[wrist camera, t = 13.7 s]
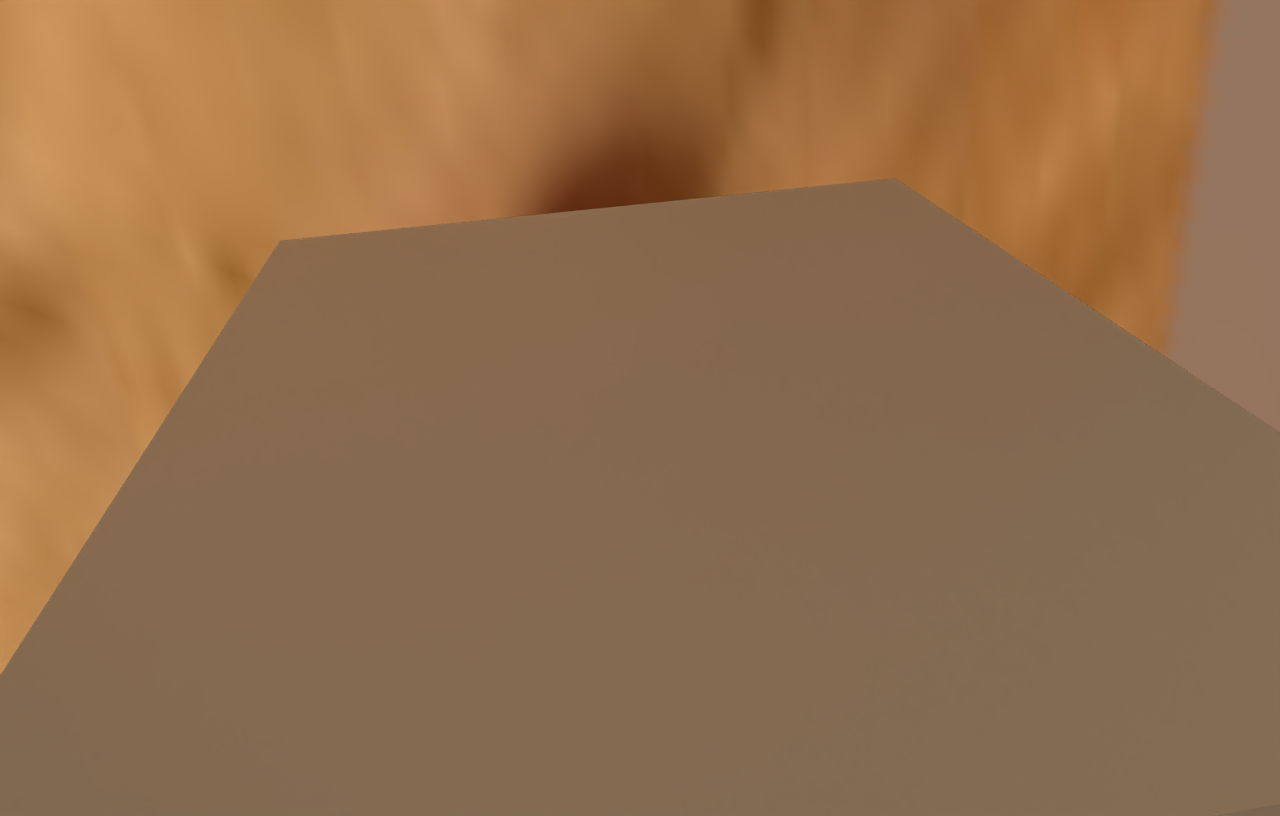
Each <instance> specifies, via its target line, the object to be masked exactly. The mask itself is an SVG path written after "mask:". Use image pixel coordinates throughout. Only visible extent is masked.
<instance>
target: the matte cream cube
mask: <svg viewBox="0 0 1280 816" xmlns="http://www.w3.org/2000/svg"><path fill="white" fill-rule="evenodd" d="M0 816H1280V432H1279V431H1277V430H1275V429H1274V428H1272V427H1271V426H1269V425H1268V424H1266V423H1265V422H1263V421H1262V420H1260V419H1259V418H1257V417H1256V416H1254V415H1253V414H1251V413H1250V412H1248V411H1247V410H1245V409H1244V408H1242V407H1241V406H1239V405H1238V404H1236V403H1235V402H1233V401H1232V400H1230V399H1228V398H1227V397H1226V396H1224V395H1223V394H1221V393H1219V392H1218V391H1216V390H1215V389H1213V388H1212V387H1210V386H1209V385H1207V384H1206V383H1204V382H1203V381H1201V380H1200V379H1198V378H1197V377H1195V376H1194V375H1192V374H1191V373H1189V372H1188V371H1186V370H1184V369H1183V368H1182V367H1180V366H1179V365H1177V364H1176V363H1174V362H1173V361H1171V360H1170V359H1168V358H1167V357H1165V356H1164V355H1162V354H1160V353H1159V352H1157V351H1156V350H1154V349H1153V348H1151V347H1150V346H1148V345H1147V344H1145V343H1144V342H1142V341H1141V340H1139V339H1138V338H1136V337H1135V336H1133V335H1132V334H1130V333H1129V332H1127V331H1126V330H1124V329H1123V328H1121V327H1120V326H1118V325H1117V324H1115V323H1114V322H1112V321H1111V320H1109V319H1108V318H1106V317H1104V316H1103V315H1101V314H1100V313H1098V312H1097V311H1095V310H1094V309H1092V308H1091V307H1089V306H1088V305H1086V304H1085V303H1083V302H1082V301H1080V300H1079V299H1077V298H1076V297H1074V296H1073V295H1071V294H1070V293H1068V292H1067V291H1065V290H1064V289H1062V288H1061V287H1059V286H1058V285H1056V284H1055V283H1053V282H1052V281H1050V280H1048V279H1047V278H1045V277H1044V276H1042V275H1041V274H1039V273H1038V272H1036V271H1035V270H1033V269H1032V268H1030V267H1029V266H1027V265H1026V264H1024V263H1023V262H1021V261H1020V260H1018V259H1017V258H1015V257H1014V256H1012V255H1011V254H1009V253H1008V252H1006V251H1005V250H1003V249H1002V248H1000V247H999V246H997V245H996V244H994V243H992V242H991V241H989V240H988V239H986V238H985V237H983V236H982V235H980V234H979V233H977V232H976V231H974V230H973V229H971V228H970V227H968V226H967V225H965V224H964V223H962V222H961V221H959V220H958V219H956V218H955V217H953V216H952V215H950V214H949V213H947V212H946V211H944V210H943V209H941V208H940V207H938V206H936V205H935V204H933V203H932V202H930V201H929V200H927V199H926V198H924V197H923V196H921V195H920V194H918V193H917V192H915V191H914V190H912V189H911V188H909V187H908V186H906V185H905V184H903V183H902V182H900V181H899V180H897V179H896V178H894V179H884V180H874V181H865V182H855V183H845V184H835V185H825V186H815V187H805V188H795V189H786V190H776V191H766V192H756V193H746V194H736V195H726V196H716V197H707V198H697V199H687V200H677V201H667V202H657V203H647V204H637V205H628V206H618V207H608V208H598V209H588V210H578V211H568V212H558V213H548V214H539V215H529V216H519V217H509V218H499V219H489V220H479V221H469V222H460V223H450V224H440V225H430V226H420V227H410V228H400V229H390V230H381V231H371V232H361V233H351V234H341V235H331V236H321V237H311V238H302V239H292V240H282V241H279V243H278V245H277V246H276V248H275V249H274V251H273V252H272V254H271V255H270V257H269V259H268V260H267V262H266V263H265V265H264V266H263V268H262V269H261V271H260V273H259V274H258V276H257V277H256V279H255V280H254V282H253V283H252V285H251V287H250V288H249V290H248V291H247V293H246V294H245V296H244V297H243V299H242V301H241V302H240V304H239V305H238V307H237V308H236V310H235V311H234V313H233V315H232V316H231V318H230V319H229V321H228V322H227V324H226V325H225V327H224V329H223V330H222V332H221V333H220V335H219V336H218V338H217V339H216V341H215V343H214V344H213V346H212V347H211V349H210V350H209V352H208V353H207V355H206V357H205V358H204V360H203V361H202V363H201V364H200V366H199V367H198V369H197V371H196V372H195V374H194V375H193V377H192V378H191V380H190V381H189V383H188V385H187V386H186V388H185V389H184V391H183V392H182V394H181V395H180V397H179V399H178V400H177V402H176V403H175V405H174V406H173V408H172V409H171V411H170V413H169V414H168V416H167V417H166V419H165V420H164V422H163V423H162V425H161V427H160V428H159V430H158V431H157V433H156V434H155V436H154V437H153V439H152V441H151V442H150V444H149V445H148V447H147V448H146V450H145V451H144V453H143V455H142V456H141V458H140V459H139V461H138V462H137V464H136V465H135V467H134V469H133V470H132V472H131V473H130V475H129V476H128V478H127V479H126V481H125V483H124V484H123V486H122V487H121V489H120V490H119V492H118V493H117V495H116V497H115V498H114V500H113V501H112V503H111V504H110V506H109V507H108V509H107V511H106V512H105V514H104V515H103V517H102V518H101V520H100V521H99V523H98V525H97V526H96V528H95V529H94V531H93V532H92V534H91V535H90V537H89V539H88V540H87V542H86V543H85V545H84V546H83V548H82V549H81V551H80V553H79V554H78V556H77V557H76V559H75V560H74V562H73V563H72V565H71V567H70V568H69V570H68V571H67V573H66V574H65V576H64V577H63V579H62V581H61V582H60V584H59V585H58V587H57V588H56V590H55V591H54V593H53V595H52V596H51V598H50V599H49V601H48V602H47V604H46V605H45V607H44V609H43V610H42V612H41V613H40V615H39V616H38V618H37V619H36V621H35V623H34V624H33V626H32V627H31V629H30V630H29V632H28V633H27V635H26V637H25V638H24V640H23V641H22V643H21V644H20V646H19V647H18V649H17V651H16V652H15V654H14V655H13V657H12V658H11V660H10V661H9V663H8V665H7V666H6V668H5V669H4V671H3V672H2V674H1V675H0Z"/></svg>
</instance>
